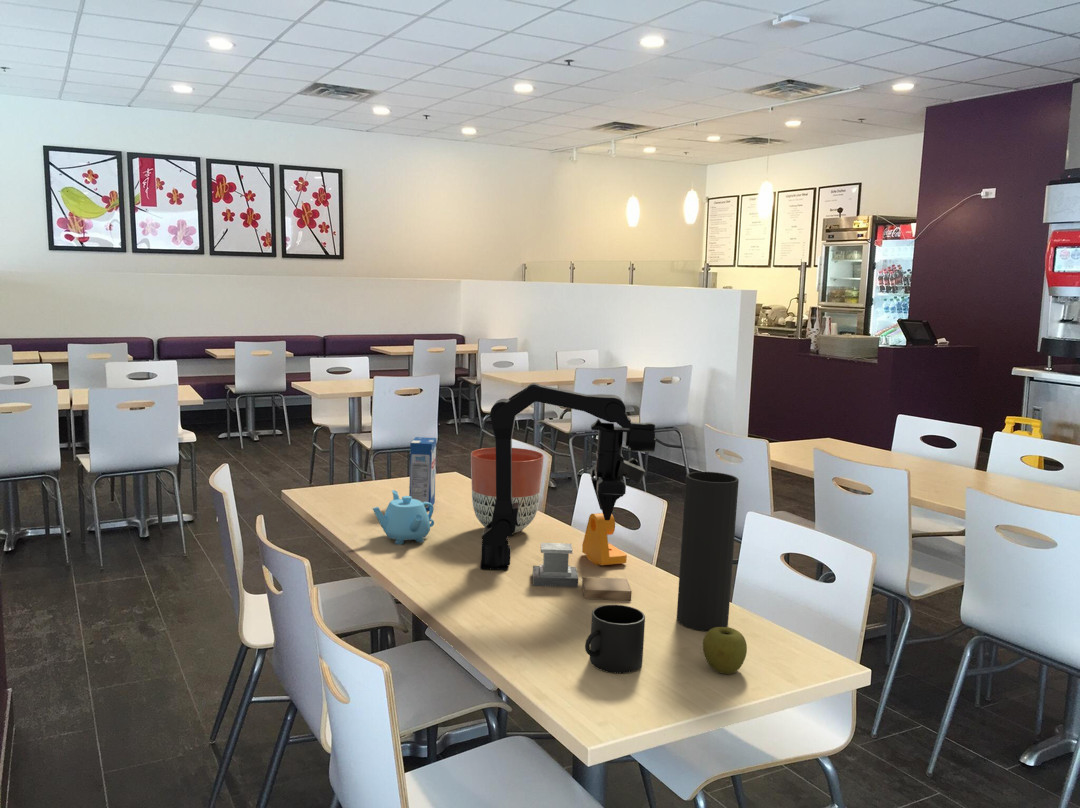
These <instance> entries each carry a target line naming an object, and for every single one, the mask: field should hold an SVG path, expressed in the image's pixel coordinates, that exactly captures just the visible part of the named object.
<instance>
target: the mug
mask: <svg viewBox="0 0 1080 808" xmlns="http://www.w3.org/2000/svg"><path fill="white" fill-rule="evenodd" d="M591 611H592V612H591V623H590V626H591V627H590V634H589V635H588V636H587V638H586V639H585V645H584V649H585V652H586V654H587V655H588V656H589V662H590V663H591V665H592V666H593V667H594V668H596V669H598V670H599V671H602V672H606V673H610V674H611V673H612V674H629V673H634V672H636V671H639V669H640V668H641V667H642V666H643V662H644V661H643V659H644V643H645V625H646V624H645V623H646V615H645V613H644V612H643V611H641V610H640V609H638V608H635V607H632V606H628V605H622V604H604V605H600V606H598V607H595V608H594V609H593V610H591Z"/></svg>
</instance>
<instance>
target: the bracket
mask: <svg viewBox="0 0 1080 808" xmlns="http://www.w3.org/2000/svg"><path fill="white" fill-rule="evenodd" d="M586 525H587V526H586V528H585V533H584V538H583V541H582V548H581V549H582V551H581V552H582V553H583V554H584V555H586V559H588V560H589V561H590V562H591V563H592V564H594V565H596V566H608V565H619V564H620V565H621V564H626V563H627V558H628V557H627V556H628V555H627V553H626V552H623V551H622V550H621V549H619V548H618V547H616V546H615V545H613V544H612V543H610V542H609V540H608V539H609V538H608V535H609V536H610V535H611V536H612V535H614V533H615V530H616V520H615V517H614V515H613V513H612V514H611V517H610V520H605V519H604V515H603V512H601V513H600V512H599V513H598V512H597V513H591V514H590V515H589V517H588V520H587V524H586Z"/></svg>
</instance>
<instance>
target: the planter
mask: <svg viewBox="0 0 1080 808" xmlns="http://www.w3.org/2000/svg"><path fill="white" fill-rule="evenodd" d="M544 459H545V457H544V454H543V453H542V452H539V451H536V450H533V449H529V448H528V449H527V448H522V447H521V448H519V447H512V497H513V501H514V503H518V502H519V503H520V504H519V510H518V513H519V516H520V520H519V525H518V526H517V525H516V528H515V532H514V533H513V534H516V533H519V532H521V531H523V530H524V529H526V528H527V527H528V526H529V525H530V524H531V523H532V522H533V521H534V519H535V516H536V515H537V512H538V508H539V505H540V498H541V489H542V479H543V478H542V477H543V468H544ZM470 471H471V476H470V477H471V479H470V480H471V500H472V501H471V502H472V508H473V511H474V515H475V517H476V518H477V520H478V522H479V523H480V525H482V526H483V527H484V528H485V526H487V525H488V524H489V523H490V522H491V521H492V517H493V512H494V506H495V501H496V447H485V448H479V449H474V450H473V451H471V453H470Z"/></svg>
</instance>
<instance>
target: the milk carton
mask: <svg viewBox="0 0 1080 808" xmlns="http://www.w3.org/2000/svg"><path fill="white" fill-rule="evenodd" d="M409 446H410V447H409V448H410V449H409V455H410V456H409V491H408V494H409V495H408V496H411V497H412V499H416V500H419V501H421V502H422V503H423V502H429V503H431V504H432V505H433V506H434V504H435V503H436V469H437V467H436V465H437V463H436V462H437V437H421V436H420V437H419V436H415V437H414V438H413V439H412V441H411V442H410V445H409ZM424 506H425V509H426V511H427V512H429V511H430V506H429V505H424Z"/></svg>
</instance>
